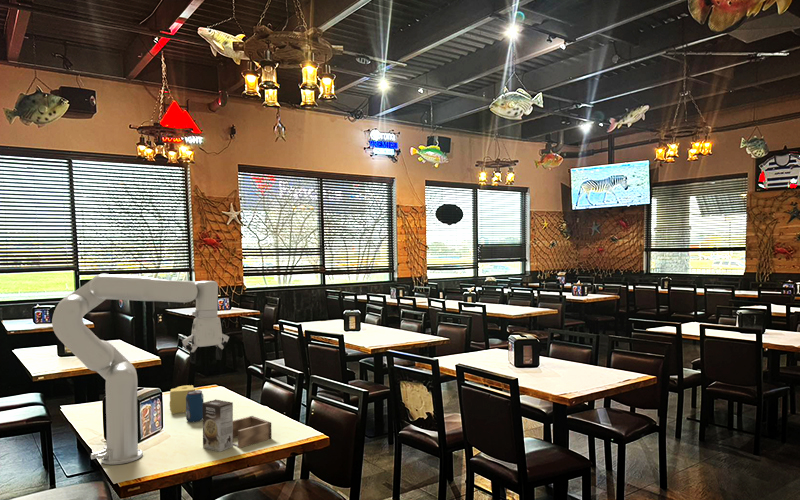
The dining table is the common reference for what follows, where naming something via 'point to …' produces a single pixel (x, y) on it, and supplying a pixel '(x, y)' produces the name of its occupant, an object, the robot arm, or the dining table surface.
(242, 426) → the walnut caddy
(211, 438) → the coffee box
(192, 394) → the soda can
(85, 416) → the dining table surface
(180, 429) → the dining table surface
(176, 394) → the cheese
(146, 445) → the dining table surface
